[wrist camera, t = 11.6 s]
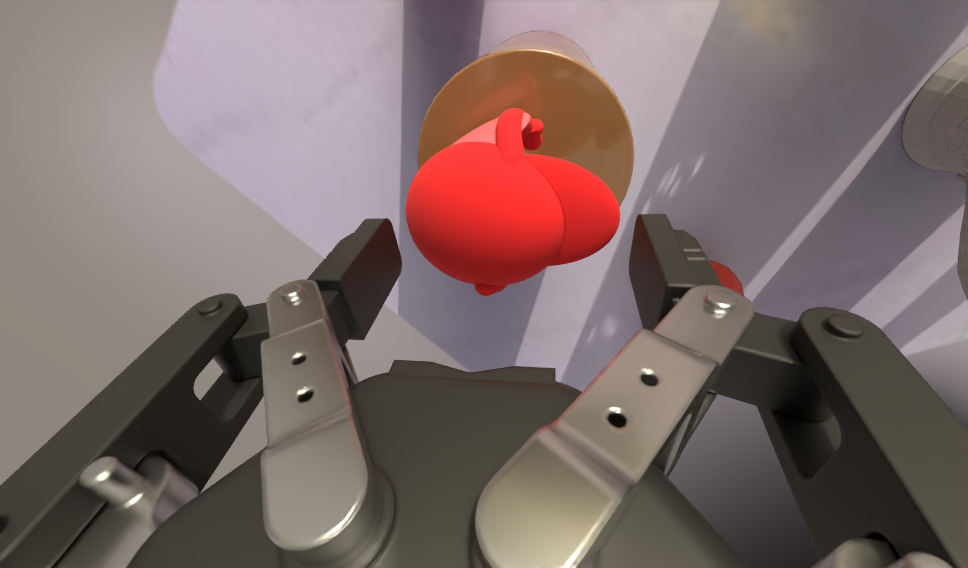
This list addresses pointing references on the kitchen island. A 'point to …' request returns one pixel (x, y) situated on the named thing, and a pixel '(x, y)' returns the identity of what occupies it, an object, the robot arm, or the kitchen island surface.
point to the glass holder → (943, 133)
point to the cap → (506, 206)
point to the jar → (538, 106)
